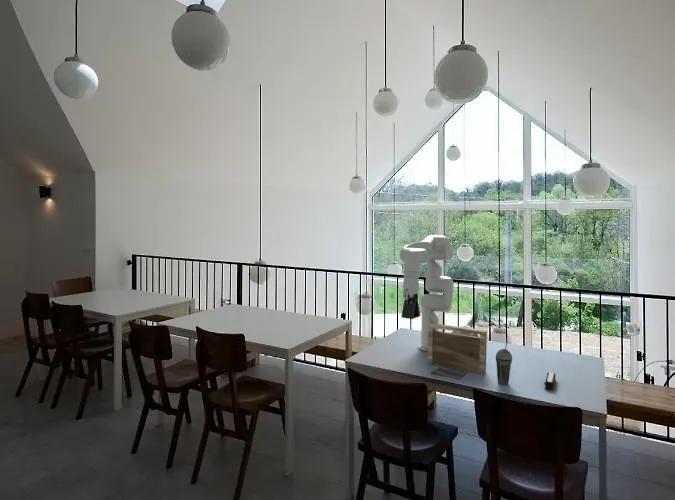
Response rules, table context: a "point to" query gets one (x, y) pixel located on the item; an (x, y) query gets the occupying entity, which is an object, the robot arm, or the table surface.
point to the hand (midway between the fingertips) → (411, 310)
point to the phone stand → (411, 309)
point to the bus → (550, 381)
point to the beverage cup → (503, 365)
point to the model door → (456, 350)
